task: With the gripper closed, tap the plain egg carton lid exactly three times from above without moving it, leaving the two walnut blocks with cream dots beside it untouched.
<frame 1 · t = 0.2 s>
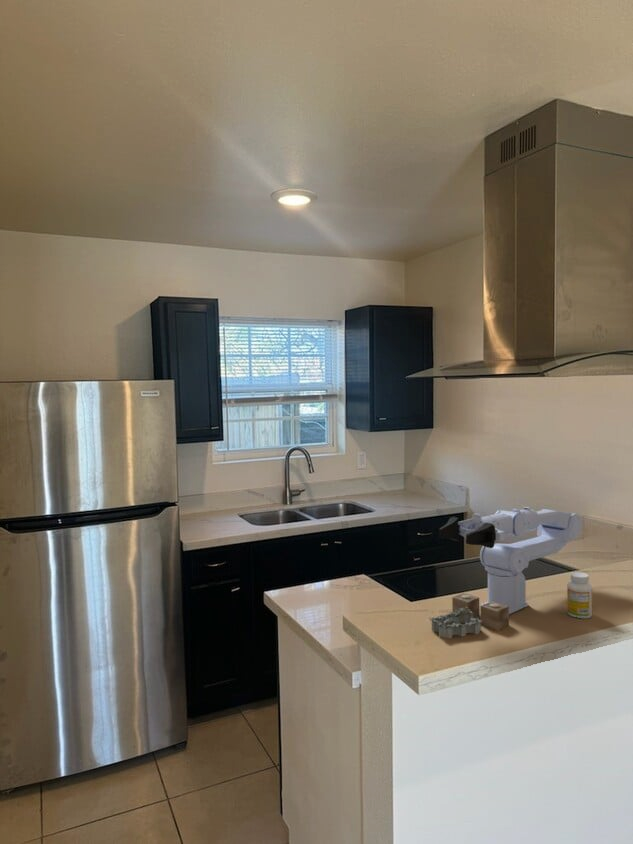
hand: (453, 536, 133), 21 cm above the counter, tool horizontal, fingers open, 7 cm apart
dotted block b: (494, 625, 136), on the counter
dotted block a: (466, 615, 142), on the counter
supplement bottle: (579, 615, 141), on the counter
egg carton: (456, 632, 133), on the counter
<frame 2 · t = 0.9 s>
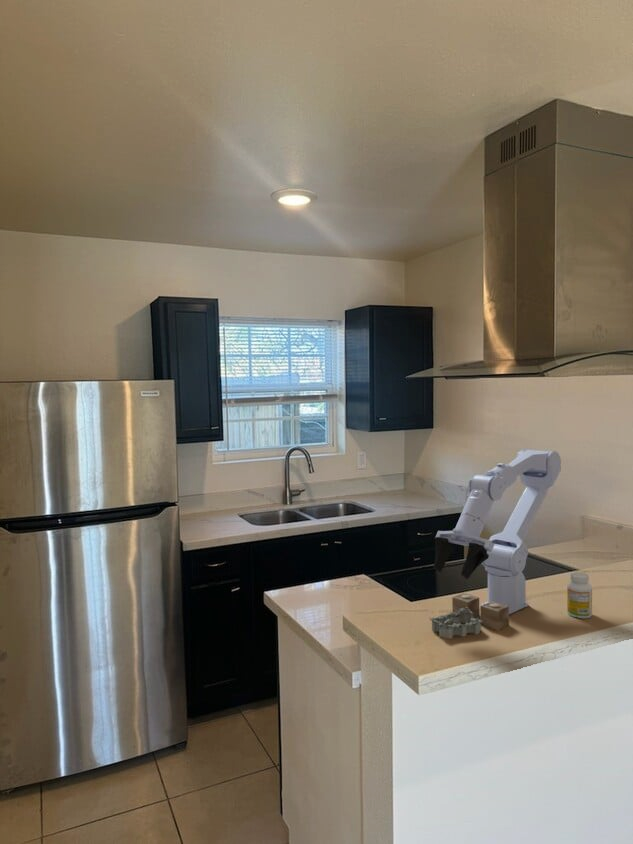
hand: (450, 573, 132), 13 cm above the counter, tool tilted 40°, fingers open, 7 cm apart
nothing on the counter moved.
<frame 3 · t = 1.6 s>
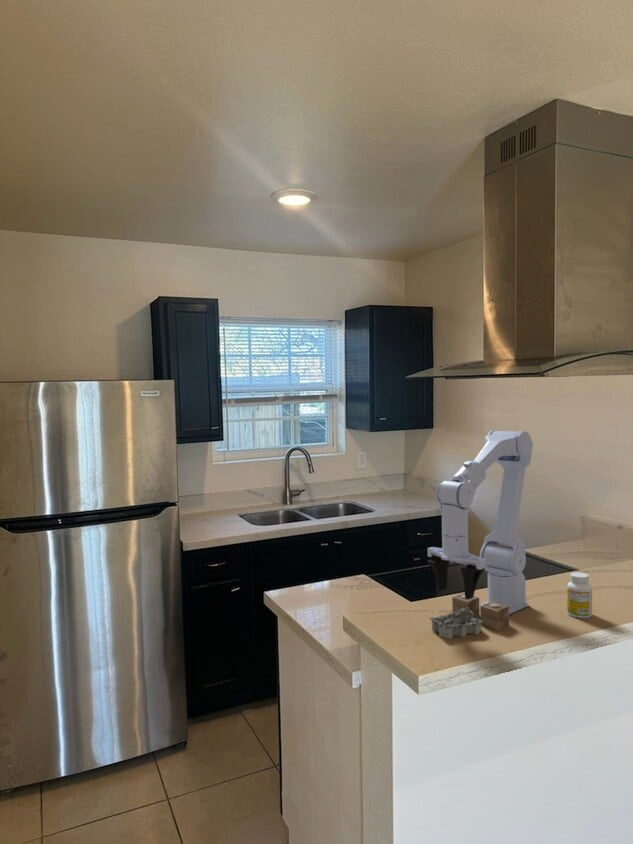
hand: (455, 593, 133), 8 cm above the counter, tool pointing down, fingers open, 7 cm apart
nothing on the counter moved.
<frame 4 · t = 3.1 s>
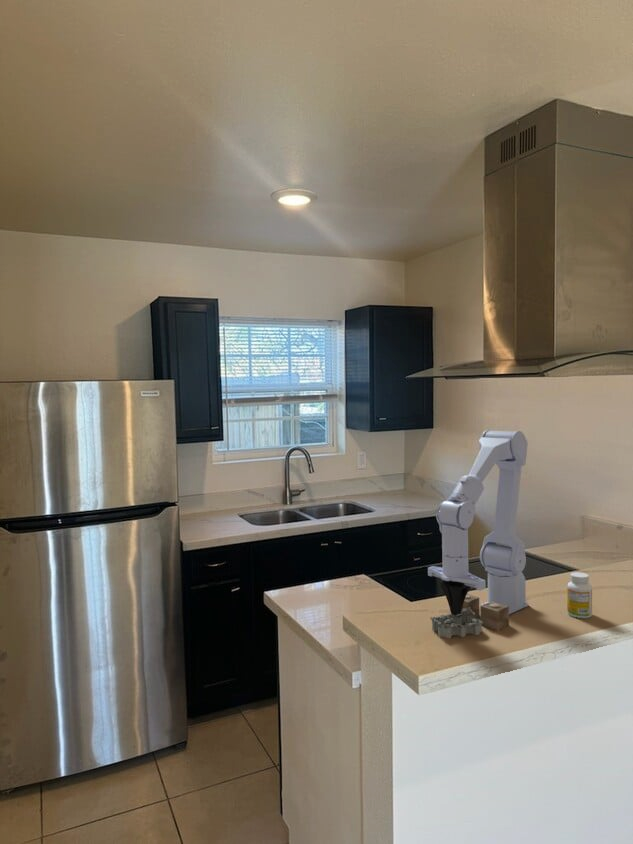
hand: (456, 613, 133), 4 cm above the counter, tool pointing down, fingers closed
nothing on the counter moved.
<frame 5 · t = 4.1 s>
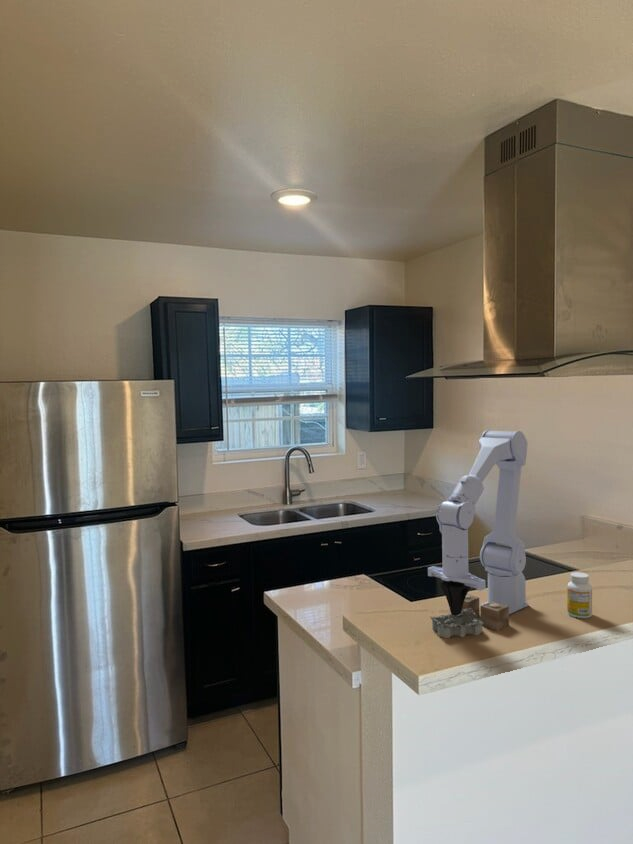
hand: (456, 613, 133), 4 cm above the counter, tool pointing down, fingers closed
nothing on the counter moved.
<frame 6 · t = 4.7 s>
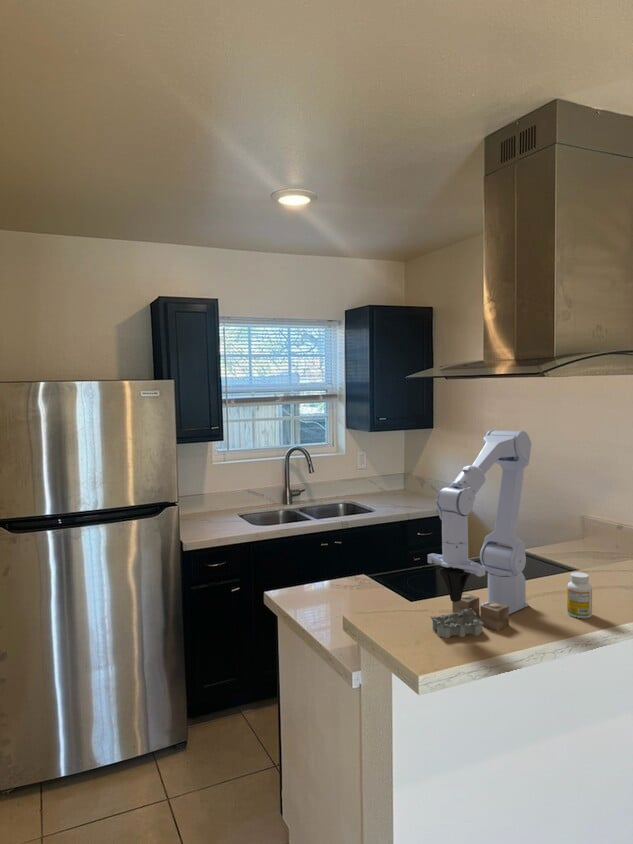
hand: (455, 600, 133), 7 cm above the counter, tool pointing down, fingers closed
nothing on the counter moved.
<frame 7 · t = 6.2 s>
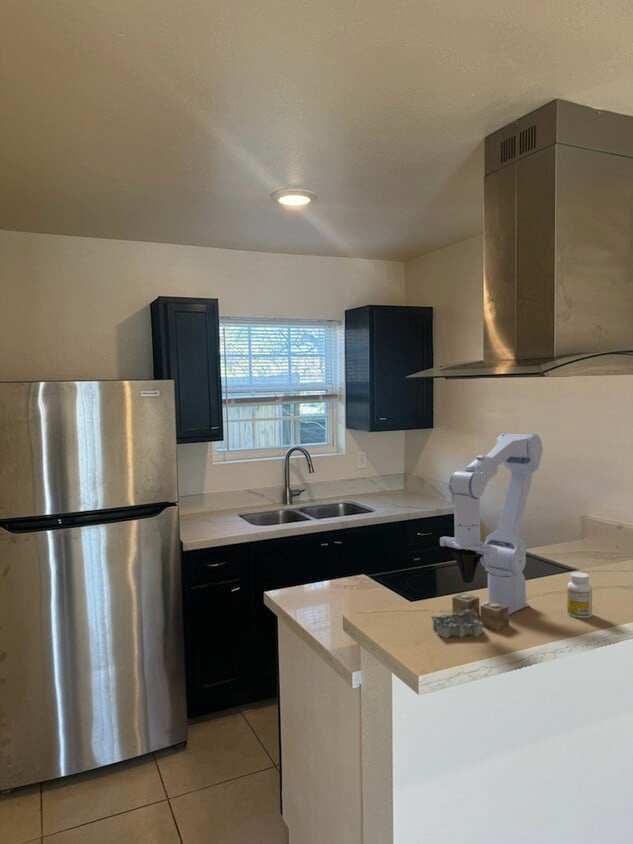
hand: (468, 581, 136), 10 cm above the counter, tool pointing down, fingers closed
nothing on the counter moved.
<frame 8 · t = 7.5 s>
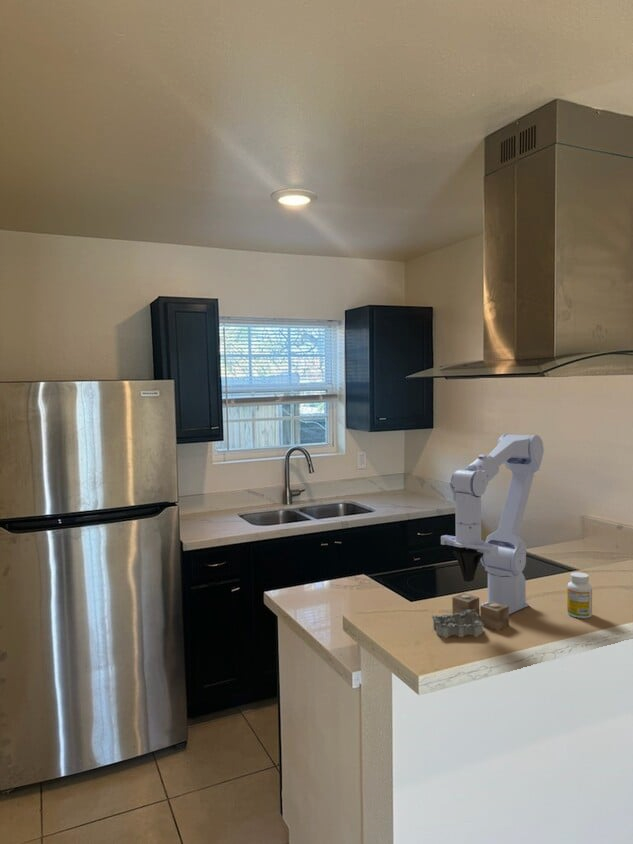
hand: (468, 580, 136), 10 cm above the counter, tool pointing down, fingers closed
at the end: egg carton moved 0.7 cm from its start; egg carton tilted 0°; dotted block a moved 0.1 cm from its start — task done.
